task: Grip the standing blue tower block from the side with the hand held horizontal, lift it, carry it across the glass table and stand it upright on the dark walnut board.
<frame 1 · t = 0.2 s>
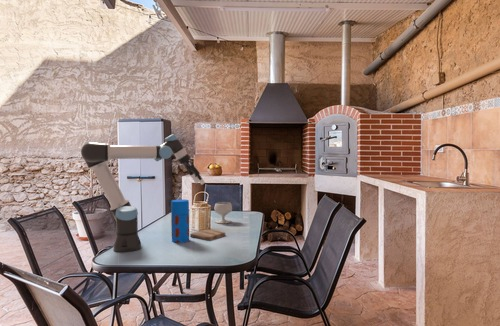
hand: (200, 183, 229), 34 cm above the table, tool tilted 35°, fingers open, 13 cm apart
walnut board: (208, 236, 227), on the table
chalice: (223, 222, 271), on the table
blue tower block: (180, 240, 216), on the table
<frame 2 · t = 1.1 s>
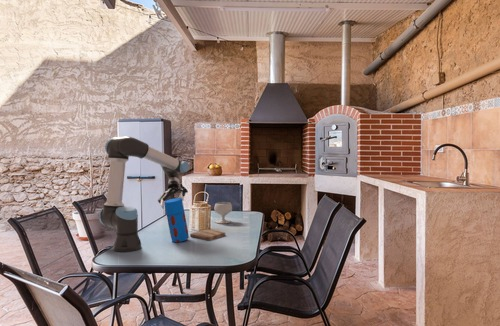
hand: (172, 203, 218), 23 cm above the table, tool tilted 65°, fingers open, 13 cm apart
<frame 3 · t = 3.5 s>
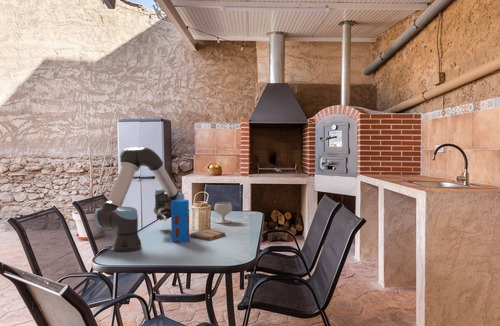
hand: (176, 217, 223), 13 cm above the table, tool horizontal, fingers open, 13 cm apart
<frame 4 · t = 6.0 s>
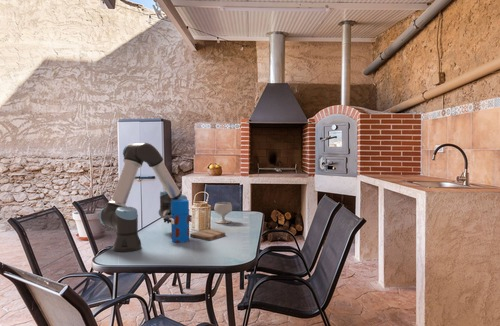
hand: (182, 220, 212), 13 cm above the table, tool horizontal, fingers closed on blue tower block, 11 cm apart
blue tower block: (180, 240, 216), on the table, touching gripper
everything else where it was.
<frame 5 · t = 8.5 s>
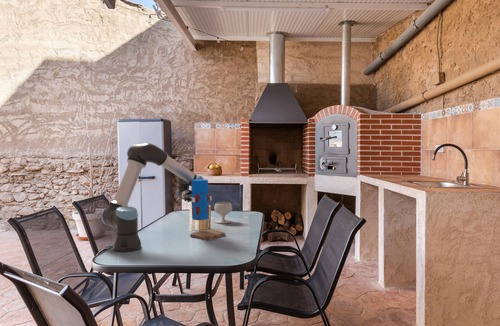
hand: (202, 199, 220), 25 cm above the table, tool horizontal, fingers closed on blue tower block, 11 cm apart
blue tower block: (200, 218, 224), point 12 cm above the table, touching gripper
everything else where it was.
when the fingers open (16 cm above the table, at t = 11.3 s): blue tower block drops 1 cm, resting on walnut board.
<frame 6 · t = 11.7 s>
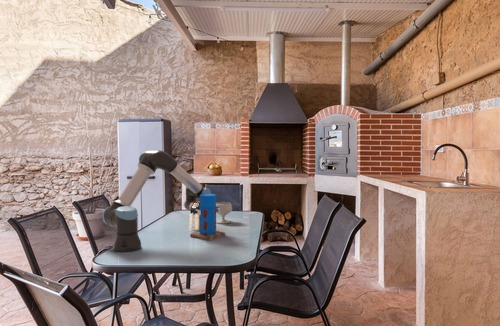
hand: (209, 211, 223), 16 cm above the table, tool horizontal, fingers open, 13 cm apart
blue tower block: (207, 233, 227), point 2 cm above the table, touching walnut board
everything else where it was.
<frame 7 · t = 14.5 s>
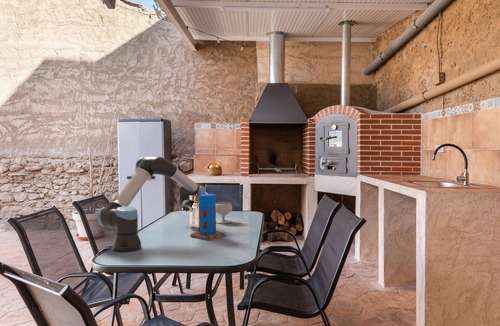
hand: (201, 208, 234), 17 cm above the table, tool horizontal, fingers open, 13 cm apart
nothing on the table moved.
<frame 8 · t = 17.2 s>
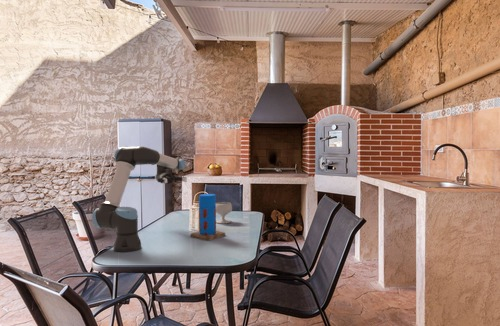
hand: (176, 180, 233), 36 cm above the table, tool horizontal, fingers open, 13 cm apart
nothing on the table moved.
at the end: blue tower block inside the target area on the walnut board (0.2 cm from its centre), point 1.8 cm above the walnut board's base; blue tower block tilted 0°; the gripper is holding nothing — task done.
